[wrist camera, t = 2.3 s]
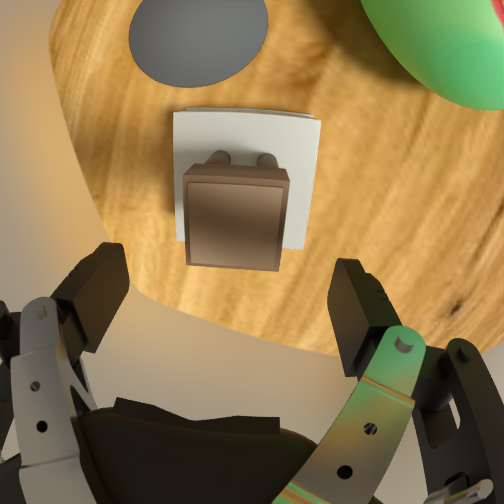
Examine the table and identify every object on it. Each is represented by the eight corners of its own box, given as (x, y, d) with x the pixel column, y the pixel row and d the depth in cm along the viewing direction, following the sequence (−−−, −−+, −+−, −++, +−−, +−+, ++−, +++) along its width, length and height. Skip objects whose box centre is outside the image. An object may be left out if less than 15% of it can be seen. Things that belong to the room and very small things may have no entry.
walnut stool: (209, 148, 18) (181, 175, 12) (279, 152, 18) (290, 182, 12) (208, 212, 21) (185, 267, 14) (273, 216, 21) (278, 274, 14)
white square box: (188, 107, 21) (170, 109, 17) (311, 114, 21) (324, 118, 17) (188, 217, 27) (174, 242, 22) (298, 225, 27) (305, 252, 22)
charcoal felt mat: (138, -19, 14) (136, -20, 14) (271, -28, 14) (272, -30, 14) (127, 92, 20) (125, 92, 20) (263, 89, 20) (263, 88, 20)
